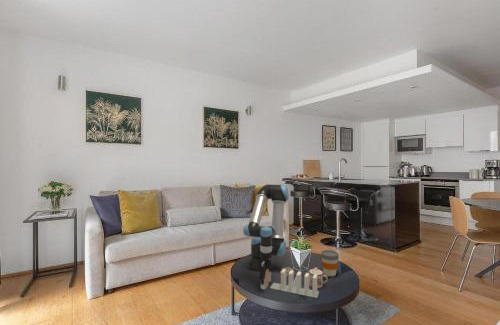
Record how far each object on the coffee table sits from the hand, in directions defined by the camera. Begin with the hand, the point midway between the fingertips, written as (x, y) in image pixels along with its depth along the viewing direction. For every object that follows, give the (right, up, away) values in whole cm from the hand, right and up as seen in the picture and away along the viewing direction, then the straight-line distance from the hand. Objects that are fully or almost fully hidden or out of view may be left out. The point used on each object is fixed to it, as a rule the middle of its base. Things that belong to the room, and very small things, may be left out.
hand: (265, 285), depth 172 cm
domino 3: (+16, -1, -3) cm, 16 cm away
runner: (+18, -2, -4) cm, 18 cm away
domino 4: (+21, -1, -5) cm, 21 cm away
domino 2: (+11, -1, -1) cm, 11 cm away
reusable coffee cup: (+48, -2, +21) cm, 52 cm away
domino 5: (+25, -1, -7) cm, 26 cm away
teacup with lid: (+35, -2, +3) cm, 35 cm away
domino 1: (0, -2, 0) cm, 2 cm away
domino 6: (+30, -1, -9) cm, 31 cm away
